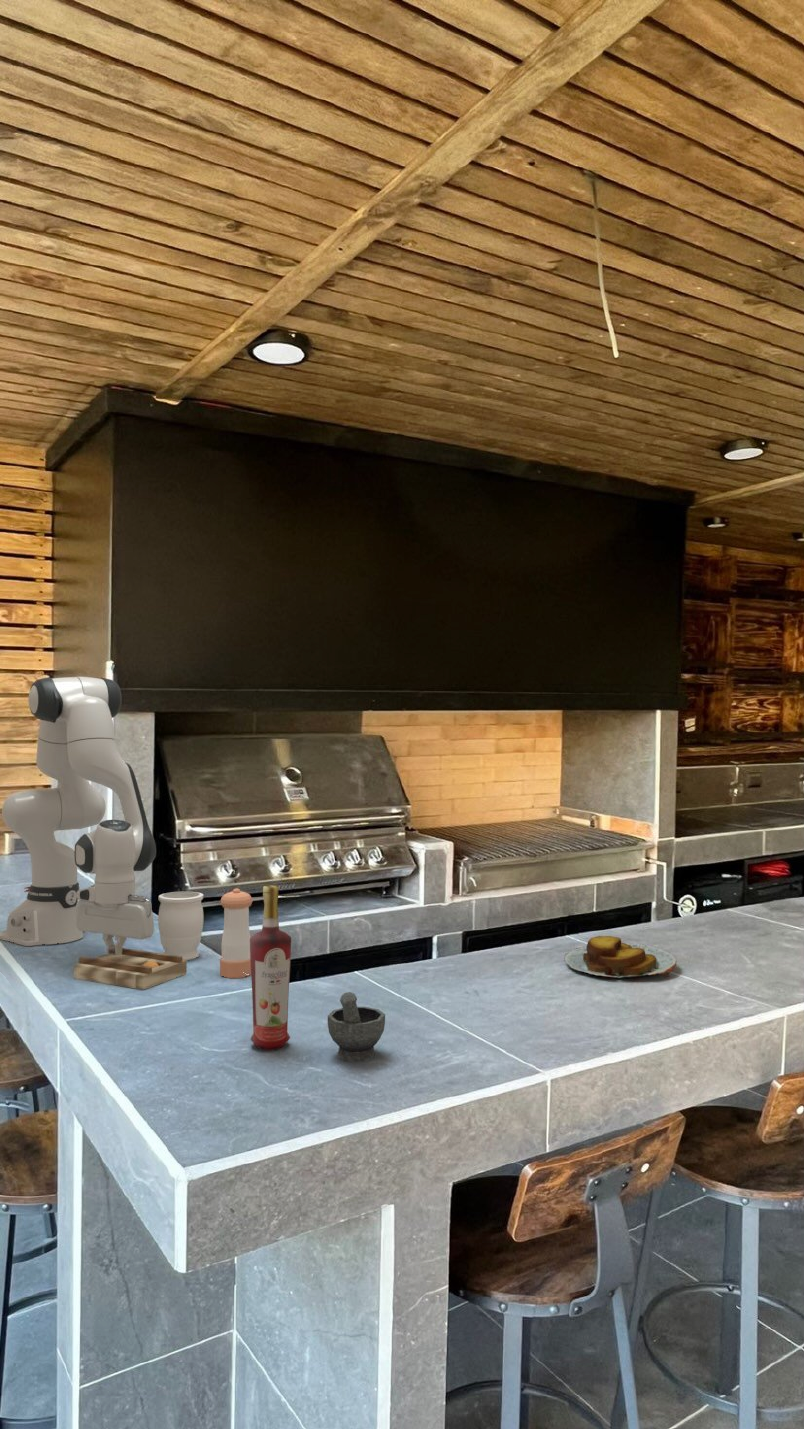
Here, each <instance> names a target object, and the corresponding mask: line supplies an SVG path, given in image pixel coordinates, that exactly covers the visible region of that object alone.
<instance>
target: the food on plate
mask: <svg viewBox="0 0 804 1429" xmlns="http://www.w3.org/2000/svg"><path fill="white" fill-rule="evenodd" d="M563 961H564V962H565V964H566V965H568V966H569V967H570V968H571V969H573V970H576V972H578V971H579V972H584V973H587V974H589V975H595V976H602V977H605V978H607V977H608V978H609V977H610V978H616V979H618V978H637V977H644V976H652V975H653V976H655V975H657V974H658V975H664V974H665V973H667V975H666V978H670V977H671V976H670V975H669V974H670V972H671V971H672V969H674V968H675V966H677V961H678V960H677V957H676V956H675V955H673V954H672V953H671V952H668V951H666V950H663V949H661V948H657V947H654V946H653V945H652V946H651V945H646V944H642V943H629V942H628V943H626V942H625V943H624V942H622V940H621V937H618V936H617V937H616V936H609V935H605V936H603V935H598V936H594V937H590V938H589V940H588V941H587V944H586V945H585V946H581V947H577V948H574V949H572V950H570V951H567V953H565V954H564V959H563ZM584 966H585V967H586V969H584V968H582V967H584ZM636 984H639V982H636Z"/></svg>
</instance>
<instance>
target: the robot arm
mask: <svg viewBox="0 0 804 1429" xmlns="http://www.w3.org/2000/svg"><path fill="white" fill-rule="evenodd" d="M29 688H30V689H29V693H28V698H27V700H28V706H29V711H30V713H31V715H32V716H34V718H36V719H37V720H40V721H39V728H38V735H37V745H36V747H37V748H36V757H35V758H36V759H35V764H36V766H37V769H38V770H39V771H40V772H41V773H42V774H44V775H46V776H47V777H49V778H52V779H54V780H57V786H56V787H54V788H40V789H39V788H38V789H26V790H21V791H17V792H14V793H10V794H9V795H8V796H7V797H6V798H5V799H4V802H3V804H2V806H1V807H2V808H1V817H2V821H3V822H4V824H5V827H7V828H8V829H9V830H10V831H12V832H13V833H14V834H16V835H17V836H18V837H19V838H21V840H22V841H23V843H24V844H25V845H26V847H27V850H28V852H29V856H30V862H31V864H30V866H31V885H30V886H26V887H24V888H23V889H24V893H26V892H27V896H26V899H25V900H24V901H23V902H22V903H21V904H19V905H18V906H17V907H16V908H15V909H14V910H12V911H11V912H10V913H9V915H8V917H7V921H6V922H7V923H6V930H3V931H1V932H0V940H2V941H6V942H9V941H10V943H13V942H14V943H13V944H16V945H17V944H18V945H21V946H24V947H32V946H41V945H42V944H45V945H57V943H59V944H65V943H71V942H74V941H78V940H80V939H83V938H84V936H85V935H84V932H89V933H95V934H99V935H100V934H102V940H103V942H104V944H105V946H106V954H112V955H121V954H122V948H123V947H124V945H125V942H126V941H127V938H129V939H135V940H145V939H146V940H147V939H148V938H152V936H153V935H154V933H155V922H154V914H153V910H152V908H153V907H152V902H151V901H150V900H149V899H148V898H147V897H146V896H142V895H141V896H139V895H136V875H135V872H143V871H144V870H145V871H146V869H147V868H148V867H149V866H150V865H152V863H153V861H154V860H155V859H156V856H157V845H156V841H155V838H154V835H153V834H152V831H151V829H150V826H149V822H148V818H147V814H146V812H145V808H144V803H143V800H142V795H141V793H140V788H139V785H138V782H137V779H136V775H135V771H134V770H133V767H132V766H131V764H129V763H127V762H126V761H124V759H123V758H122V756H121V754H120V752H119V750H118V747H117V742H116V740H117V739H116V732H115V727H114V721H113V719H114V717H116V716H117V715H118V714H119V712H120V711H121V708H122V701H123V700H122V696H123V695H122V692H121V688H120V686H119V684H118V683H117V681H115V680H113V679H109V678H105V677H100V678H96V677H90V676H72V677H71V676H68V677H67V676H65V677H53V678H51V677H44V678H39V679H36V680H35V681H34V682H33V683H32V684H31V686H30V687H29ZM90 782H92V783H95V784H98V785H101V786H104V787H106V788H109V789H110V790H111V791H113V792H114V793H115V794H116V795H117V796H118V799H119V801H120V805H121V810H122V813H123V817H124V820H119V819H106V820H103V819H104V817H105V813H106V809H107V807H106V806H107V805H106V801H105V797H104V796H103V794H102V793H101V792H100V791H99V790H98V789H96V788H95V787H94V786H93V785H92V784H91V783H90ZM94 826H96V829H94V830H93V831H91V832H88V833H83V835H81V836H80V837H79V838H78V840H77V841H76V843H75V844H74V849H73V848H71V847H70V846H69V845H66V844H64V843H61V842H60V841H59V842H58V841H57V840H56V837H55V832H57V831H66V830H67V831H69V830H82V829H85V828H89V827H94ZM78 869H79V870H81V871H82V872H83V873H85V874H91V875H93V874H94V875H95V877H94V884H93V885H91V886H89V887H85V888H81V889H80V883H79V882H78ZM25 889H26V890H25ZM113 938H115V941H116V943H115V941H114V939H113Z"/></svg>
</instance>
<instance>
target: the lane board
mask: <svg viewBox="0 0 804 1429" xmlns="http://www.w3.org/2000/svg"><path fill="white" fill-rule="evenodd" d="M147 961H154V962H156V963H157V964H158V965H159V966H158V967H155V968H153V969H152V967H147V966H142V965H143V964H144V963H145V962H147ZM187 962H188V960H182V957H181V956H174V955H167V954H164V953H162V952H161V953H159V952H154V951H153V952H152V951H146V950H139V949H131V948H125V947H122V954H121V955H112V954H107V953H106V954H104V955H99V956H97V957H87V956H79V957H78V962H77V963H74V964H73V979H78V980H82V981H83V980H84V981H89V982H96V983H100V984H107V985H113V986H118V987H124V988H129V989H130V988H131V989H137V990H142V991H145V990H147V989H150V988H152V987H155V986H158V985H162V984H164V983H166V982H169V981H171V980H174V979H176V977H177V978H179V977H182V976H184V974H185V975H187V974H188V973H187V971H188V970H187V969H188V966H187V964H188V963H187ZM186 973H187V974H186ZM181 975H182V976H181Z"/></svg>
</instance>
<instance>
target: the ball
mask: <svg viewBox="0 0 804 1429" xmlns="http://www.w3.org/2000/svg"><path fill="white" fill-rule="evenodd" d="M142 966H147V967H152V969H153V968H155V967H158V966H159V965H158V964H157V963H156V962H154V961H147V962H145V963H144V964H143V965H142Z"/></svg>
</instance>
